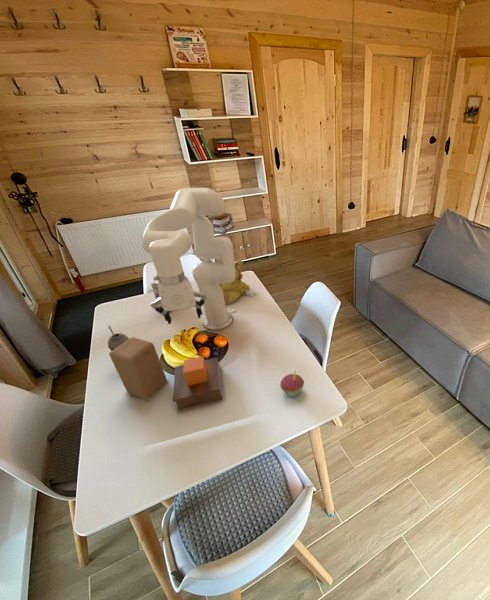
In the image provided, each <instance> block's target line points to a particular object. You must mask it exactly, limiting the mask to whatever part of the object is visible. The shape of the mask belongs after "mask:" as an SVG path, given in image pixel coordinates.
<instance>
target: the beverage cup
mask: <svg viewBox="0 0 490 600" xmlns="http://www.w3.org/2000/svg"><path fill="white" fill-rule="evenodd" d="M107 327H108V329H109V331H110V332H111V335H110V337H109V338H108V340H107V347H108V349H109V350H110V352H111V351H112V350H114V349H115V348H117V347H118V346H120V345H121V344H123V343H124V342H126V341H127V340H128V339H130V337H128V336H127V335H126V334H124V333H121V332H120V333H119V332H117V333H115V332H114V331H113V329H112V327H111V325H109V324H108V325H107Z"/></svg>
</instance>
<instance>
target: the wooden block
mask: <svg viewBox="0 0 490 600" xmlns="http://www.w3.org/2000/svg"><path fill="white" fill-rule="evenodd" d="M108 355H109V357H110V360H111V361H112V363H113V365H114V367H115V369H116V372H117V374H118V376H119V378H120V380H121V382H122V384H123V386H124V389H125V390H126V392H127V394H129V395H133V396H135V397H138V398H142V399H144V400H148V399H150V398H151V397H152V396H153V395H154V394H155V393H157V392H158V391H159V390H160V389H161V388H162V387H163V386H164V385H165V384H167V382H168V378H167V376H166V374H165V371H164V368H163V366H162V363H161V360H160V358H159V356H158V353H157V350H156V348H155V345H154V343H152V341H148V340H144V339H141V338H139V337H138V338H137V337H135V336H132V337H129V339H128V340H127V341H126V342H124V343H123V344H121V345H120V346H118V347H117V348H115V349H114V350H112V351H111V350H110V352H109V354H108Z"/></svg>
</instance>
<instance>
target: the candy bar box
mask: <svg viewBox="0 0 490 600" xmlns="http://www.w3.org/2000/svg"><path fill="white" fill-rule="evenodd" d="M158 283H159V281H158V280H154V281H152V282H151V283H150V286H151V288H152V292H153V295H154V298H155V300H157V299H158V298H160V295H159V290H158ZM158 306H160V307H162V308H163V306H162V303H159V304H158Z"/></svg>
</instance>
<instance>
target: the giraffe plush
mask: <svg viewBox="0 0 490 600" xmlns="http://www.w3.org/2000/svg"><path fill="white" fill-rule="evenodd" d="M243 265H244V264H243V261H242V260H241V259H237V260H236V262H235V280H234V281H233V282H232V283H221V284H219V285H220V287H221V288H222V291H223V296H224V300H225V305H229V304H232V303H234V302H236V301H237V300H238V299H239V298H240V297H241V295H243V296H249V297H254V295H255V293H249V292H245V291H246V290H249V288H250V285H249V284H247V283H246V282H245V281H243V280H242V279H243V273H242V268H241V267H242V266H243Z"/></svg>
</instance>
